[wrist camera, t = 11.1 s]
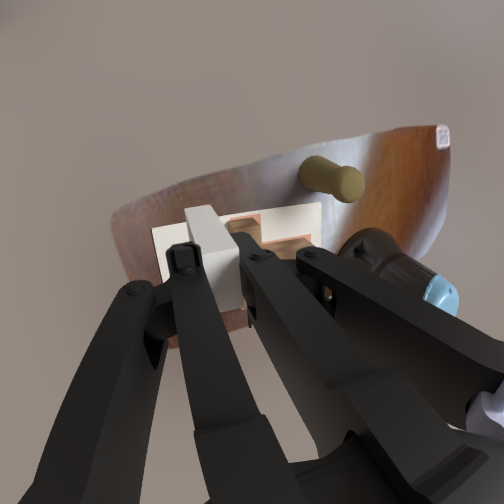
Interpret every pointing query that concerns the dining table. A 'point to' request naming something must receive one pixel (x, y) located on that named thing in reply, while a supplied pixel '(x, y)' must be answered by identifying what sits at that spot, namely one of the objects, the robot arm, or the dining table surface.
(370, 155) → the dining table surface
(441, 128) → the dining table surface
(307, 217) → the mat
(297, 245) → the t block
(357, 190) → the olive pepper mill
